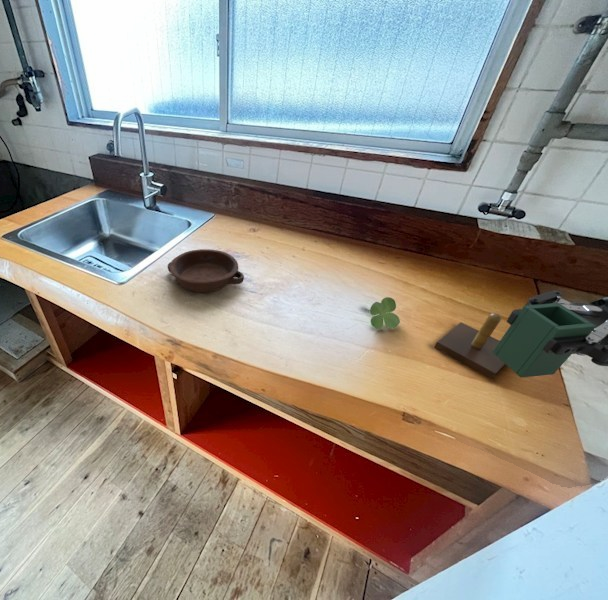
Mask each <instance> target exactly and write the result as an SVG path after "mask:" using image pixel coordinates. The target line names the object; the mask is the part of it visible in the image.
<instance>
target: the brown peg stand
mask: <svg viewBox="0 0 608 600" xmlns="http://www.w3.org/2000/svg"><path fill="white" fill-rule="evenodd" d="M501 321H502V315H500V314H499V313H497V312H492V313H490V314H489V315H488V316H487V317H486V319H485V321H484V322H483V323H482V325H481V327H480V328H479V330H478V329H476V328H475V327H472V326H470V325H468V324H466V323H463V322H462V321H461V322H459V323H458V324H457V325H455V326H454V327H453V328H452V329H451V330H449V331H448V332H447V333H446V334H444V335H443V336H442V337H441V338H440V339H438V340H436V342H435V344H434V346H433V347H434V348H435V349H437V350H438V351H441V352H442V353H444V354H445V355H448V356H449V357H451V358H453V359H455V360H457V361H458V362H460V363H462V364H463V365H465V366H468V367H470V368H471V369H473V370H474V371H476V372H478V373H480V374H482V375H484V376H485V377H487V378H489V379H493V378H495V376H496V375H497V374H498V372H500V371H501V370H502V368H503V367H505V366H506V364H505V363H503V362H502V361H501V360H500V359H499V358H498V357H497V356H496V355H494V354H493V353H492V352H493V350H494V349H495V347H496V346H497V345H498V343H499V342H500V340H499V339H497V338H495V337H493V336H491V335H492V334H493V333H494V331H495V329H496V328H497V326H498V325H499V323H500V322H501Z"/></svg>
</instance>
